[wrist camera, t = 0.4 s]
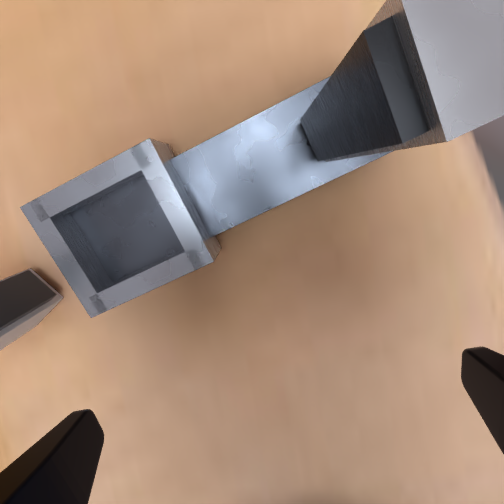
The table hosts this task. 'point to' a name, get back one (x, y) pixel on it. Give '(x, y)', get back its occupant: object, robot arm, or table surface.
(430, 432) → the table surface
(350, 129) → the grey l-shaped stand
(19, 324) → the tall grey pillar
